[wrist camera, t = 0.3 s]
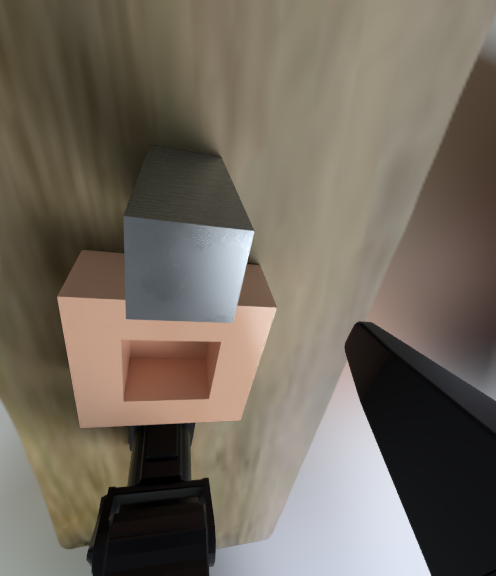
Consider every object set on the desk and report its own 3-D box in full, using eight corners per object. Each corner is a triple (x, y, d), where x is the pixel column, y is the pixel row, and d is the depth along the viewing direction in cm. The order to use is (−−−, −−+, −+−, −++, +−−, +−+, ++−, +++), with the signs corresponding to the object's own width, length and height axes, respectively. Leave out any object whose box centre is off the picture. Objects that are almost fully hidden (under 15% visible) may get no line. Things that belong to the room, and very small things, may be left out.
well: (232, 372, 29) (240, 420, 25) (95, 373, 26) (80, 428, 22) (260, 265, 23) (277, 307, 19) (82, 249, 20) (57, 296, 16)
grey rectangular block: (212, 220, 20) (233, 322, 12) (148, 213, 19) (125, 319, 11) (221, 157, 18) (254, 231, 10) (150, 144, 17) (123, 215, 9)
